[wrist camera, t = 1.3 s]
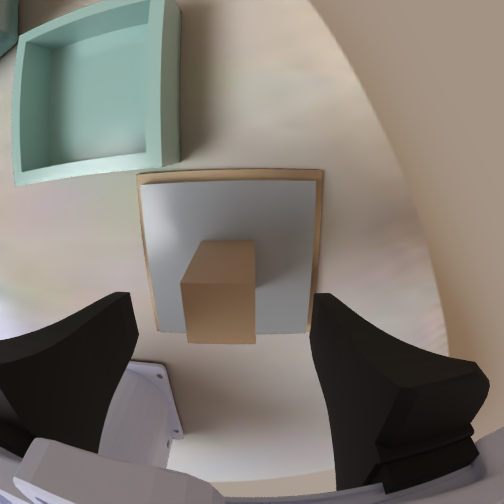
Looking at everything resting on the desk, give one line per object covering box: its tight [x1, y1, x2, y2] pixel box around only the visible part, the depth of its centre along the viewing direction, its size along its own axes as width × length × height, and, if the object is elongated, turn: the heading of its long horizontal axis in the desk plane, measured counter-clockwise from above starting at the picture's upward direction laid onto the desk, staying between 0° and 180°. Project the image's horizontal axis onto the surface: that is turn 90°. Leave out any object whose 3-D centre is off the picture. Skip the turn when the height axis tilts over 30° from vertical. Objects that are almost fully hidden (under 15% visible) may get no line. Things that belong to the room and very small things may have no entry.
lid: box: [140, 179, 316, 344], centre depth 14 cm, size 9×9×6 cm
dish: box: [12, 0, 182, 187], centre depth 12 cm, size 9×9×4 cm
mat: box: [137, 169, 323, 332], centre depth 17 cm, size 10×10×1 cm
